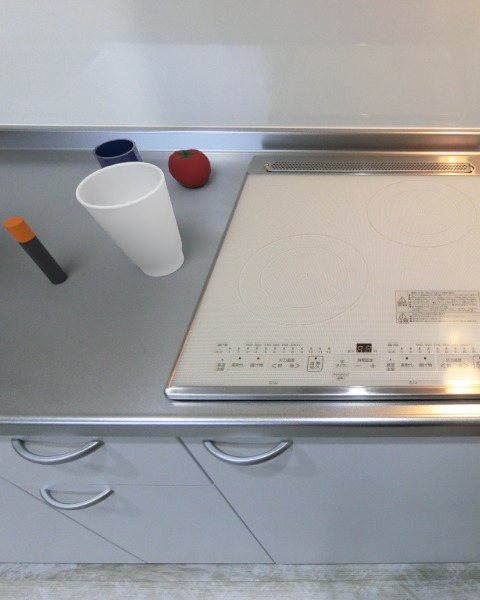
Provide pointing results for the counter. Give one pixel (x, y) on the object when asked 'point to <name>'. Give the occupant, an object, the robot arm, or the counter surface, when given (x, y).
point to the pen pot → (117, 152)
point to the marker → (35, 249)
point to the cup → (135, 214)
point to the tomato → (189, 167)
